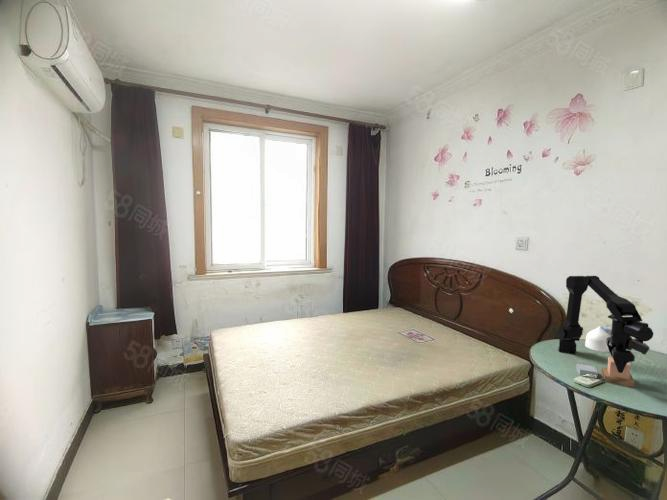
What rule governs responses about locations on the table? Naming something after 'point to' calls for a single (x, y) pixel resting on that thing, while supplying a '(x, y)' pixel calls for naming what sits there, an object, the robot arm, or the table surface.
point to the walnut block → (618, 379)
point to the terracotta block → (614, 372)
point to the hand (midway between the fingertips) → (618, 368)
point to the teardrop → (597, 340)
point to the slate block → (586, 370)
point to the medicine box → (607, 330)
